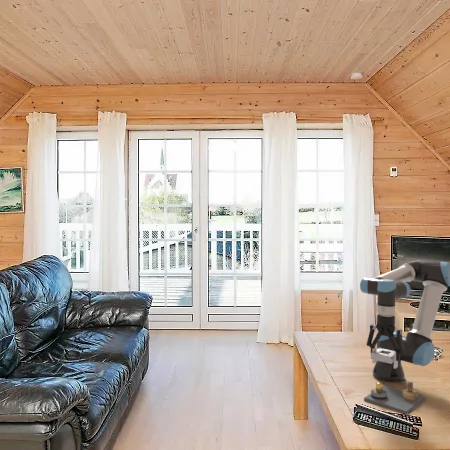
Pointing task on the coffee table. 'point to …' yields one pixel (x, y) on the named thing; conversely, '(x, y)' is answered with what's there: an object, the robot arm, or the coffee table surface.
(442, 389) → the coffee table surface
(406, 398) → the stand
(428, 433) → the coffee table surface
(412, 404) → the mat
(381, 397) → the cylinder
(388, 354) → the square hole frame
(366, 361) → the coffee table surface
